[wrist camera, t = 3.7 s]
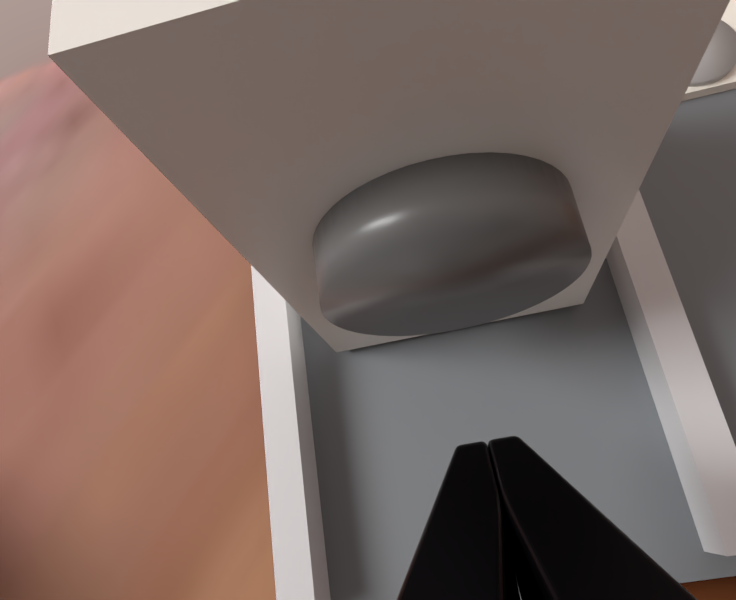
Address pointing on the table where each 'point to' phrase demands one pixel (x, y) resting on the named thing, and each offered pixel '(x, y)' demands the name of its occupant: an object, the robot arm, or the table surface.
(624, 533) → the robot arm
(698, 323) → the switch board
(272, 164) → the toggle
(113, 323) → the table surface
